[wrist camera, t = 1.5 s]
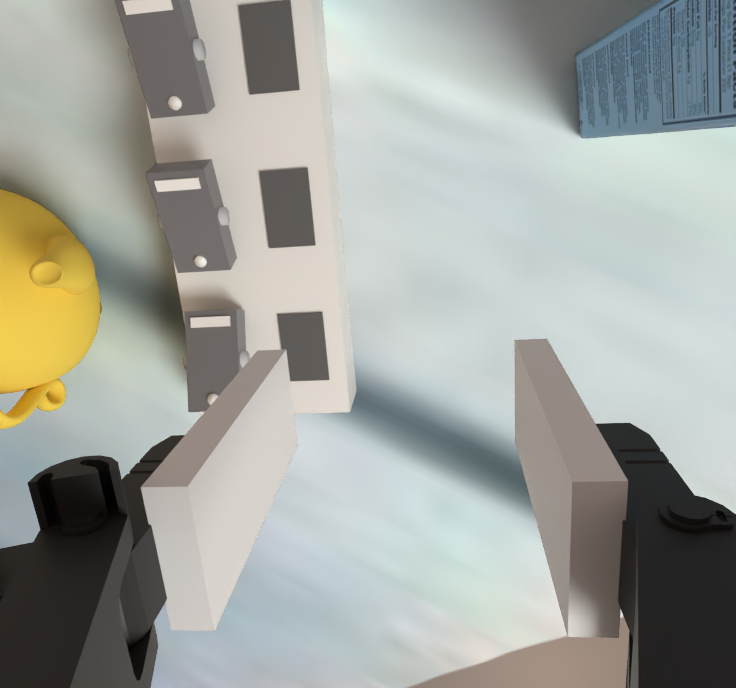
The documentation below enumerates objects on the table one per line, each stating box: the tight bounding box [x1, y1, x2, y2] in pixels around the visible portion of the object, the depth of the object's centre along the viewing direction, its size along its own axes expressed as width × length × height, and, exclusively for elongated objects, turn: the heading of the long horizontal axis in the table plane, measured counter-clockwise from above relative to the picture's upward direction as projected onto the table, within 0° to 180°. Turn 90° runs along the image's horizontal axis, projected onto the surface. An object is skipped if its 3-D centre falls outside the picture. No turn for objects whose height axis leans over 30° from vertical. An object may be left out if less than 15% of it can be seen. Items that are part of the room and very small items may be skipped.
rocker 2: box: [145, 159, 237, 273], centre depth 34 cm, size 4×6×2 cm, turn 4°
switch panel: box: [146, 0, 356, 416], centre depth 37 cm, size 10×26×4 cm, turn 4°
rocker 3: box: [184, 309, 250, 412], centre depth 37 cm, size 4×6×2 cm, turn 4°
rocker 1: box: [115, 0, 215, 119], centre depth 32 cm, size 4×6×2 cm, turn 4°
